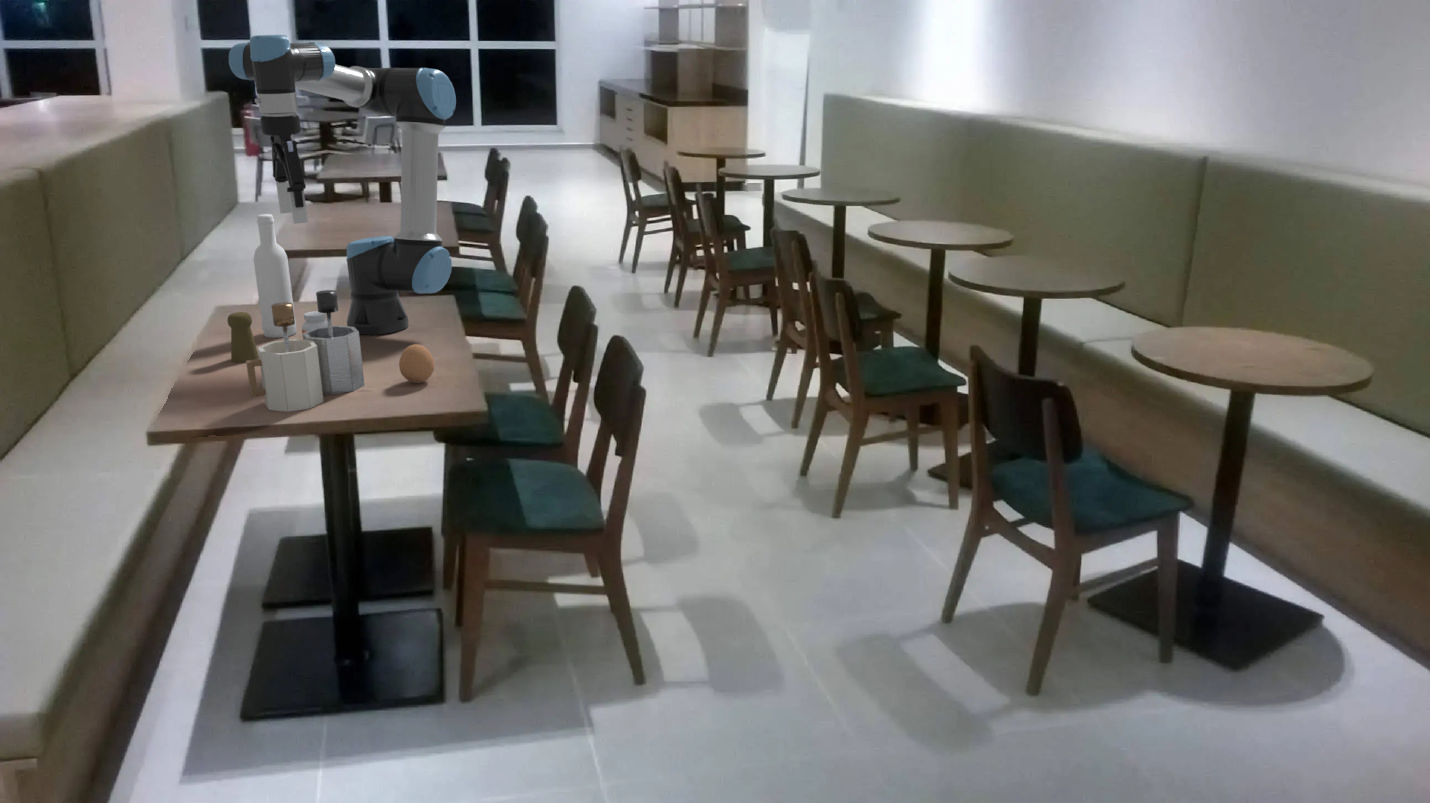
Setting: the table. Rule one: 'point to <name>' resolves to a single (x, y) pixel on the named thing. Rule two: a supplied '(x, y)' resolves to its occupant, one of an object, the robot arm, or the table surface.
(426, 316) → the table surface
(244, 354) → the cork
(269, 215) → the bottle
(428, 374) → the egg
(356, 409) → the table surface
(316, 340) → the grey octagonal container
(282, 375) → the white faceted mug
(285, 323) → the plunger
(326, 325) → the pill bottle
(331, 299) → the plunger
